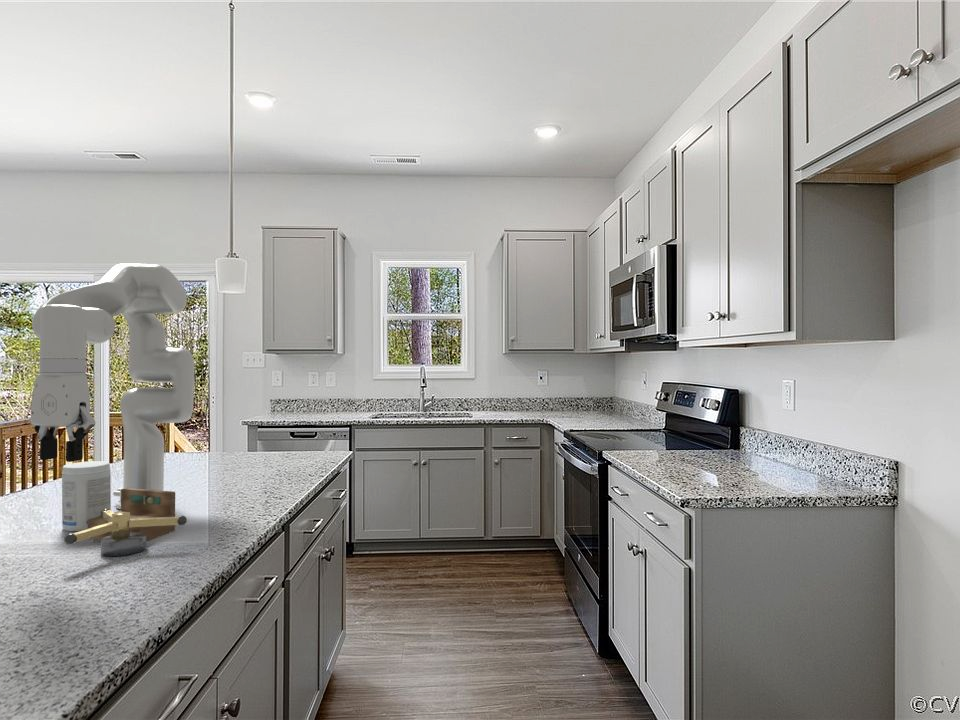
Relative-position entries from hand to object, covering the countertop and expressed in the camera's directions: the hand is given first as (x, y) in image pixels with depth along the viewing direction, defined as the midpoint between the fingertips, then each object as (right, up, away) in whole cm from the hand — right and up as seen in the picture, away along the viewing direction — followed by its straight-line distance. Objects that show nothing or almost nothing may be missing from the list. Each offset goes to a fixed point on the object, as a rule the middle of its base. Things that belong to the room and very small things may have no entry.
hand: (61, 459), depth 119 cm
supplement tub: (-10, -20, +23) cm, 32 cm away
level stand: (+4, -20, +17) cm, 26 cm away
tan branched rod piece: (+8, -19, +3) cm, 21 cm away
